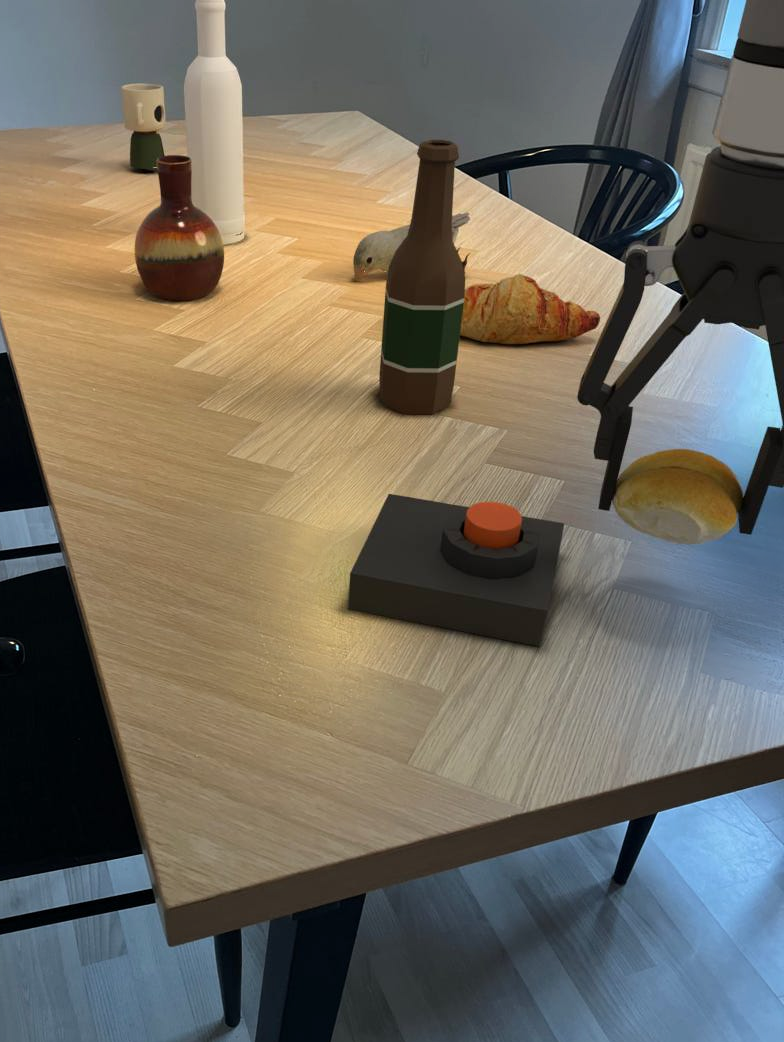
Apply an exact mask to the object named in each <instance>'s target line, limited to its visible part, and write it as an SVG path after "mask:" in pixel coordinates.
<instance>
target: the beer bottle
mask: <svg viewBox="0 0 784 1042" xmlns="http://www.w3.org/2000/svg"><path fill="white" fill-rule="evenodd" d="M416 155H417V156H418V158H419V164H418V170H417V176H416V177H417V178H416V184H415V191H414V198H413V205H412V212H411V219H410V222H409V225H410V227H409V231H408V235H407V237H406V238H405V239H404V241H403V242H402V243H401V245H400V246H399V247H398V249H397V250H396V251H395V254H394V256H393V258H392V261H391V263H390V265H389V268H388V273H387V276H386V282H385V291H384V304H383V317H382V318H383V320H382V333H381V347H380V348H381V349H380V360H379V361H380V362H379V377H378V378H379V380H378V381H379V384H378V385H379V386H378V387H379V390H378V391H379V395H380V401H381V404H382V406H383V407H385V408H389V409H391V410H393V411H395V412H399V413H401V414H403V415H433V414H435V413H438V412H440V411H441V410H443V409H445V408H447V407H449V406H450V404H451V402H452V398H453V393H454V392H453V391H454V387H455V378H456V370H457V364H458V363H457V362H458V354H459V346H460V345H459V344H460V339H461V338H460V337H461V335H460V330H461V322H462V314H463V306H464V297H465V289H466V273H464V270H463V265H462V262H463V261H462V258H461V255H460V254H459V251H458V252H457V250H458V249H457V247H456V245H455V244H454V243H453V237H452V215H453V207H454V188H455V187H454V186H455V170H456V169H455V167H456V166H455V165H456V161H458V160H459V159H460V155H459V148H458V146H457V144H456V143H455V142H453V141H450V140H445V139H429V140H424V141H422V142H420V143H419V146H418V149H417V152H416Z"/></svg>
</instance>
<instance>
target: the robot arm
mask: <svg viewBox="0 0 784 1042" xmlns="http://www.w3.org/2000/svg"><path fill="white" fill-rule="evenodd" d="M732 53H733V54H732V56H731V59H730V62H729V66H728V69H727V74H726V79H725V81H724V86H723V89H722V92H721V96H720V101H719V104H718V105H719V106H718V109H717V112H716V116H715V120H714V123H713V128H712V132H711V134H712V137H713V138H714V140H715V142H717V143H718V144H720V145H718V146H716V147H714V148H713V149H712V150H711V151H710V152H709V153H707V154H706V155H705V159H704V164H703V166H702V171H701V176H700V179H699V183H698V187H697V190H696V194H695V198H694V203H693V205H692V209H691V214H690V217H689V221H688V225H687V226H686V229H685V231H684V232H683V234H682V235H681V236H680V237H679V238H678V239H677V241H676V242H675V244H674V245H649V246H648V245H647V243H645V242H644V241H642V240H636V241H635V240H634V241H633V242H632V243H630V245H629V246H628V247H627V249H626V250H627V251H626V257H625V262H624V275H623V283H622V286H621V288H620V290H619V291H618V295H617V297H616V299H615V301H614V303H613V306H612V308H611V310H610V313H609V315H608V316H607V319H606V322H605V324H604V326H603V329H602V331H601V333H600V335H599V337H598V340H597V342H596V344H595V347H594V349H593V351H592V353H591V356H590V358H589V360H588V362H587V365H586V367H585V369H584V372H583V374H582V376H581V378H580V382H579V385H578V386H579V387H578V390H577V395H576V398H577V402H578V403H579V404H581V405H583V406H586V407H587V406H591V407H593V408H594V409H596V410H597V411H598V412H599V414H600V419H599V423H598V427H597V432H596V436H595V441H594V446H593V456H594V459H595V460H599V461H606V462H607V464H606V468H605V472H604V476H603V479H602V484H601V489H600V494H599V499H598V500H599V502H598V510H601V511H606V512H610V510H611V506H612V504H613V501H612V499H613V495H614V491H615V487H616V483H617V479H618V477H619V476H620V472H621V471H620V470H621V467H622V463H623V459H624V456H625V451H626V447H627V443H628V440H629V439H628V438H629V435H630V431H631V427H632V420H633V411H634V406H631V404H632V403H633V402H634V400H635V399H636V397H638V396H639V394H640V393H641V392H642V390H643V389H644V388H645V387H646V385H647V384H648V383H649V382H650V381H651V379H652V378H653V377H654V376H655V375H656V374H657V372H658V371H659V370H660V369H661V367H662V366H663V365H664V364H665V362H667V360H668V359H669V358H670V357H671V355H672V354H673V353H674V352H675V350H676V349H677V348H678V347H679V346H680V345H681V343H682V342H683V341H684V340H685V338H687V337H688V336H690V335H691V334H692V333H693V332H694V330H696V328H697V327H698V326H699V325H700V324H701V322H702V321H703V322H704V324H711V325H724V324H734V325H738V326H740V327H741V328H744V329H751V330H760V327H764V326H765V333H766V338H767V343H768V348H769V354H770V360H771V366H772V372H773V377H774V383H775V389H776V394H777V400H778V405H779V410H780V416H781V422H782V423H781V424H782V425H781V428H780V427H776V426H770V425H769V426H768V425H767V428H766V430H765V432H764V436H763V439H762V441H761V445H760V447H759V451H758V453H757V456H756V459H755V462H754V465H753V468H752V471H751V474H750V477H749V480H748V482H747V486H746V489H745V491H744V493H743V502H742V507H741V509H740V510H739V512H738V513H737V520H738V521H737V522H738V532H739V534H743V535H749V536H751V535H753V530H754V528H755V526H756V524H757V521H758V517H759V515H760V512H761V509H762V507H763V503H764V500H765V497H766V495H767V492H768V489H769V487H774V488H780V489H784V0H745V4H744V8H743V12H742V16H741V20H740V23H739V28H738V31H737V39H736V42H735V46H734V49H733V52H732ZM669 268H673V270H674V272H675V274H676V277H677V279H678V281H679V284H680V286H681V288H682V290H683V293H682V294H681V295H680V297H679V298H678V300H677V301H676V302H675V303H674V304H673V306H672V308H671V310H670V311H669V313H668V314H667V316H666V317H665V318H664V319H663V321H662V322H661V323H660V324H659V326H658V327H657V328H656V330H655V331H654V332H653V333H652V334H651V335H650V337H649V338H648V339H647V340H646V342H645V343H644V344H643V346H642V347H641V348H640V349H639V351H638V352H637V353H636V354H635V356H634V357H633V358H632V359H631V361H630V362H629V363H628V365H627V366H626V367H625V368H624V369H623V371H622V372H621V373H620V375H619V376H618V377H617V378H616V379H615V381H614V382H613V383H612V384H611V385H610V384H607V383H606V382H605V380H606V378H607V376H608V374H609V372H610V370H611V368H612V367H613V363H614V361H615V359H616V357H617V356H618V355H617V354H618V353H619V350H620V348H621V346H622V344H623V341H624V339H625V337H626V335H627V333H628V330H629V329H630V326H631V325H632V322H633V319H634V317H635V315H636V314H637V311H638V309H639V307H640V304H641V302H642V299H643V296H644V292H645V287H651V286H654V285H655V284H656V283H657V282H658V281H659V280H660V277H661V275H662V273H663V272H664V271H665V270H667V269H669Z"/></svg>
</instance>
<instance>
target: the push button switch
mask: <svg viewBox="0 0 784 1042" xmlns="http://www.w3.org/2000/svg"><path fill="white" fill-rule="evenodd" d="M470 507H471V506H464V505H458V504H453V503H447V502H441V501H436V500H429V499H423V498H417V497H411V496H405V495H401V494H400V495H399V494H393V493H388V495H387V496H386V498H385V501H384V503H383V505H382V507H381V509H380V510H379V513H378V515H377V517H376V519H375V521H374V523H373V526H372V527H371V530H370V532H369V534H368V535H367V538H366V540H365V542H364V544H363V546H362V548H361V550H360V552H359V554H358V556H357V558H356V560H355V563H354V565H353V566H352V569H351V571H350V573H349V587H348V600H347V601H348V605H347V608H348V609H349V610H353V611H357V612H362V613H369V614H372V615H379V616H383V617H389V618H393V619H399V620H404V621H407V622H408V621H409V622H413V623H419V624H424V625H428V626H433V627H438V628H442V629H443V628H444V629H448V630H453V631H459V632H463V633H469V634H474V635H479V636H482V637H483V636H484V637H488V638H495V639H499V640H504V641H509V642H514V643H520V644H523V645H524V644H525V645H528V646H529V645H530V646H534V647H541V644H542V640H543V635H544V631H545V625H546V621H547V618H548V617H547V616H548V613H549V607H550V602H551V596H552V590H553V586H554V580H555V577H556V576H555V575H556V570H557V565H558V561H559V554H560V549H561V545H562V544H561V543H562V539H563V534H564V529H565V523H564V522H560V521H553V520H547V519H542V518H535V517H530V516H524V515H521V516H522V524H521V529H520V535H519V540H518V542H517V544H516V545H514V546H513V547H509V548H500V549H494V548H488V547H482V546H478V545H476V544H474V543H472V542H470V541H468V540H466V539H465V537H464V526H465V519H466V512H467V510H468V509H469V508H470Z"/></svg>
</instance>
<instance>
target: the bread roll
mask: <svg viewBox="0 0 784 1042" xmlns="http://www.w3.org/2000/svg"><path fill="white" fill-rule="evenodd" d="M743 497H744V492H743V488H742V486H741V484H740V481H739V479H738V478H737V475H736V474H735V473H734V471H733V470H732V469H731V468H730V467H729V466H728V465H727V464H725V463H724V462H723V461H721V460H719V459H718V458H716V457H715V456H713V455H710V454H707V453H704V452H702V451H697V450H693V449H687V448H671V449H663V450H659V451H656V452H654V453H650V454H646V455H644V456H642V457H640V458H637V459H636V460H635V461H633V462H632V463H631V464H629V465H628V466H627V467H626V468H625V469H624V470H623V471H622V472H621V473H619V475H618V479H617V483H616V487H615V491H614V495H613V499H612V505H613V508H614V510H615V512H616V514H617V515H618V517H619V518H620V519H621V520H622V521H623V522H624V523H625V524H626V525H627V526H629V527H631V528H632V529H633V530H635V531H637V532H640V533H642V534H646V535H648V536H651V537H654V538H657V539H660V540H661V541H665V542H670V543H673V544H679V545H687V546H692V545H698V546H699V545H701V544H704V543H709V542H712V541H715V540H718V539H721V538H722V537H724V536H725V535H726V534H728V533H729V532H731V530H733V528H734V527H735V526H736V524H737V522H738V521H737V520H738V512H739V510H740V509H741V507H742V502H743Z"/></svg>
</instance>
